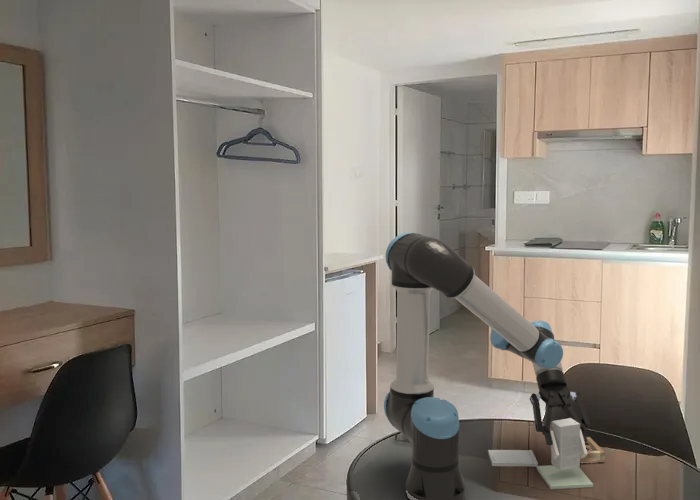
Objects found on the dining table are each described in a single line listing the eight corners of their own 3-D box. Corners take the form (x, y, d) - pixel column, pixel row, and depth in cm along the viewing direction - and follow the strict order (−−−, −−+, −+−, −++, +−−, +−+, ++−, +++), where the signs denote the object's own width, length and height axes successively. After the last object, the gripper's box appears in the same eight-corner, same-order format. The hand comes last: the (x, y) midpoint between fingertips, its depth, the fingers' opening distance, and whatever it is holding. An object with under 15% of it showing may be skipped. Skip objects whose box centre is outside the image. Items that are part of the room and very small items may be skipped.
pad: (550, 489, 168) (550, 486, 167) (536, 468, 178) (536, 466, 178) (593, 487, 168) (593, 484, 168) (576, 466, 179) (576, 464, 179)
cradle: (568, 464, 180) (569, 454, 180) (555, 448, 190) (555, 438, 190) (604, 462, 181) (604, 452, 180) (589, 446, 191) (589, 436, 190)
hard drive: (491, 462, 180) (538, 462, 180) (487, 449, 189) (531, 449, 188) (491, 468, 181) (537, 468, 180) (487, 454, 189) (531, 454, 188)
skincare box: (570, 460, 176) (571, 417, 174) (579, 467, 172) (581, 423, 170) (550, 463, 174) (550, 420, 172) (559, 470, 170) (560, 426, 168)
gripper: (580, 378, 186) (603, 459, 172) (511, 381, 185) (529, 463, 171) (588, 366, 180) (613, 449, 166) (517, 369, 179) (536, 453, 165)
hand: (570, 456), depth 169 cm, fingers closed on skincare box, 7 cm apart
